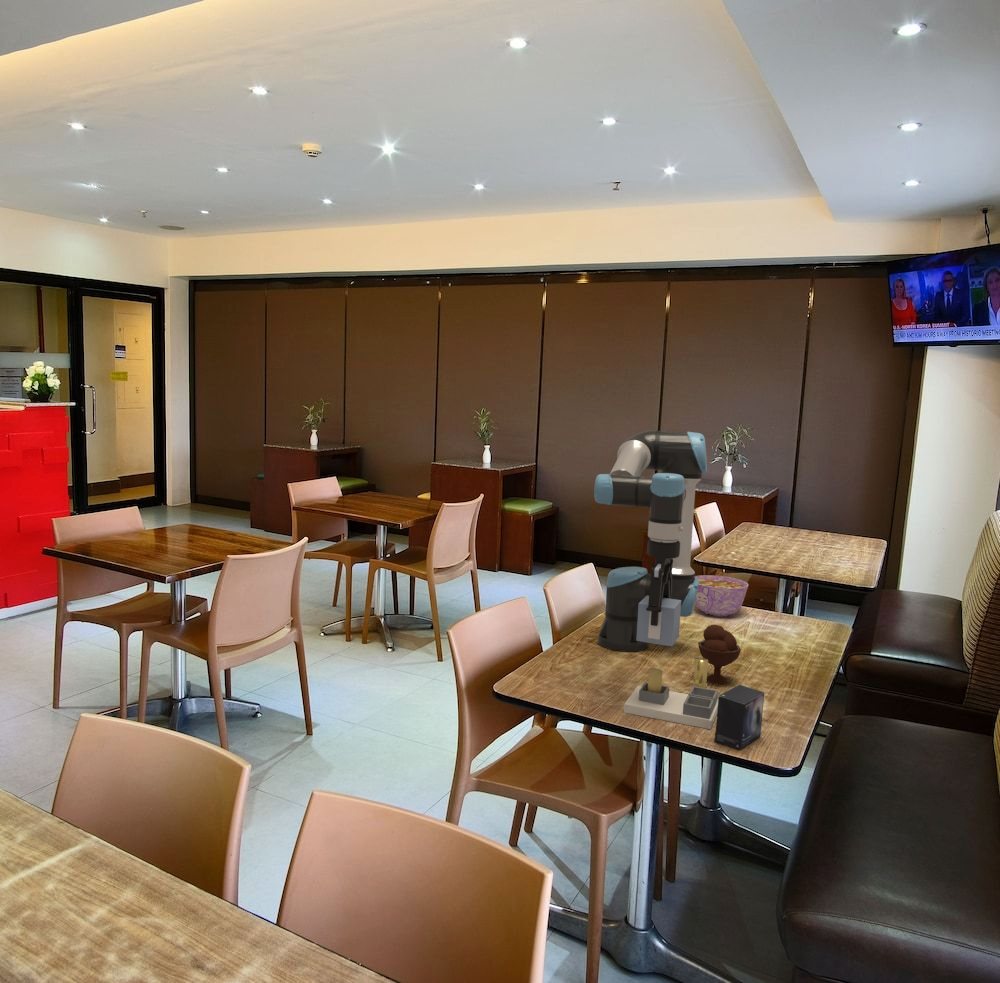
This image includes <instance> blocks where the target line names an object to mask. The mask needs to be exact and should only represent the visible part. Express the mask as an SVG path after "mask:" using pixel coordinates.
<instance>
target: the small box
mask: <svg viewBox="0 0 1000 983" xmlns="http://www.w3.org/2000/svg"><path fill="white" fill-rule="evenodd" d="M764 698H765V692H764V691H761V690H758V689H755V688H751V687H748V686H745V685H742V684H738V685H736V686H735V687H733V688H730V689H728V690H727V691H725V692H722V693H721V694H718V699H717V700H718V709H717V715H716V722H715V731H714V732H715V733H714V740H713V741H714V742H716V743H719V744H721V745H725V746H727V747H731V748H733V749H736V750H742V749H744V748H746V747H747V746H748V745H749V744H751V743H753V742H754V741H756V740H758V739H759V738H761V735H762V726H763V725H762V722H763V712H764V710H763V709H764V702H765V699H764Z"/></svg>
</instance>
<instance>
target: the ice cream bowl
mask: <svg viewBox="0 0 1000 983" xmlns="http://www.w3.org/2000/svg"><path fill="white" fill-rule="evenodd" d="M702 634H703V635H702V636H703V639H704V640H701V641H698V642H697V645H698V649H699V653H700V655H701V658H706V659H708V664H710V665H711V666H713V668H714V669H713V673H712V674H710V675H707V682H709V683H711V684H714V685H715V684H717V685H724V684H727V683H728V680H727V678H726V677H725V676H724V675H722V672H721V671H722V668H723V667H726V666H728V665H730V664H732V663H734V662H735V661H736V660H738V658H739V656H740V655H741V650H742V648H741V647H740V645H739V644H738V643H737V639H736V637H735V636H734V635H733V633H732V632H730V631H728V630H726V629H725V628H724V627H722V626H721V625H719V624H710V625H708V626H707V627H706V628H705V629H703V632H702Z"/></svg>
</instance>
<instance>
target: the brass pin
mask: <svg viewBox="0 0 1000 983" xmlns="http://www.w3.org/2000/svg"><path fill="white" fill-rule="evenodd" d="M708 668H709V663H708V659H706V658H703V657H702V656H701V657H695V658H694V667H693V669H694V670H693V681H692V682H693V683H692V687H693V686H694V687H700V688H706V689H707V684H708V683H707V682H708V681H707V676H708Z"/></svg>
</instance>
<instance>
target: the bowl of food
mask: <svg viewBox="0 0 1000 983" xmlns="http://www.w3.org/2000/svg"><path fill="white" fill-rule="evenodd" d="M695 578H698V579H699V585H698V590H697V594H696V599H695V604H694V606H696V607H697V609H699V610H700V611H702V612H703V613H707V614H710V615H709V616H711V615H713V616H712V617H717V616H721V618H723V617H722V616H725V617H728V616H729V615H732V614H734V613H736V612H738V611H739V610H740V609H741V608H742V606H743V603H744V600H745V597H746V595H747V591H748V589H749V583H748V582H747V581H745V580H742V579H739V578H734V577H729V576H724V575H709V574H708V575H707V574H706V575H702V574H701V575H695ZM707 614H706V615H707Z"/></svg>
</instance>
